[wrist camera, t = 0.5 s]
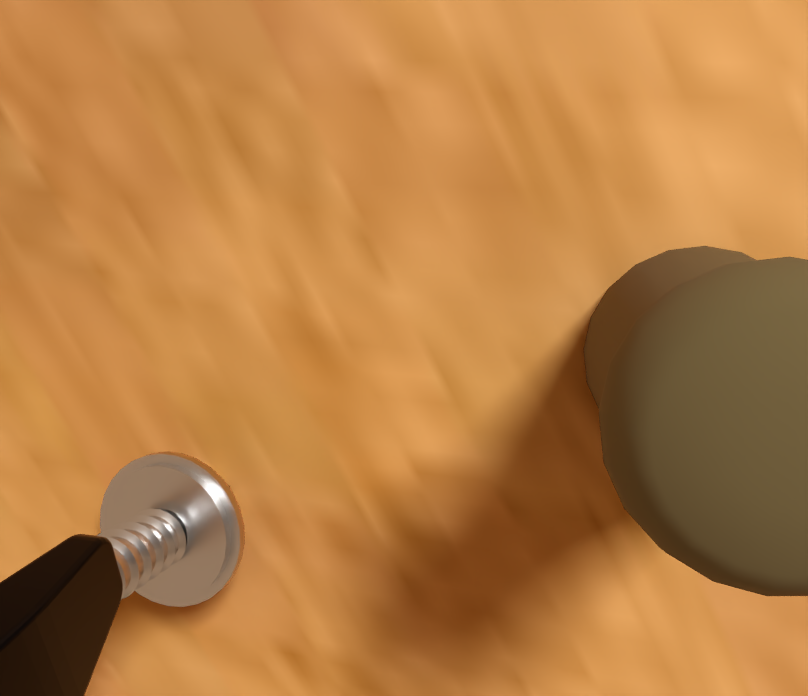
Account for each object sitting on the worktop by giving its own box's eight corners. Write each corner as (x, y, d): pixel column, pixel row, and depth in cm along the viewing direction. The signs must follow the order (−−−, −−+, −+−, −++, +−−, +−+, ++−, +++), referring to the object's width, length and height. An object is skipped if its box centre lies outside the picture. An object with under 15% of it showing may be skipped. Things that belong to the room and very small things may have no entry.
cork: (806, 474, 20) (1032, 701, 10) (577, 453, 22) (557, 628, 11) (828, 249, 20) (1099, 227, 9) (590, 242, 21) (581, 218, 10)
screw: (298, 525, 24) (198, 606, 25) (206, 409, 25) (113, 494, 26) (-24, 802, 12) (-188, 935, 13) (-198, 557, 12) (-341, 708, 13)
